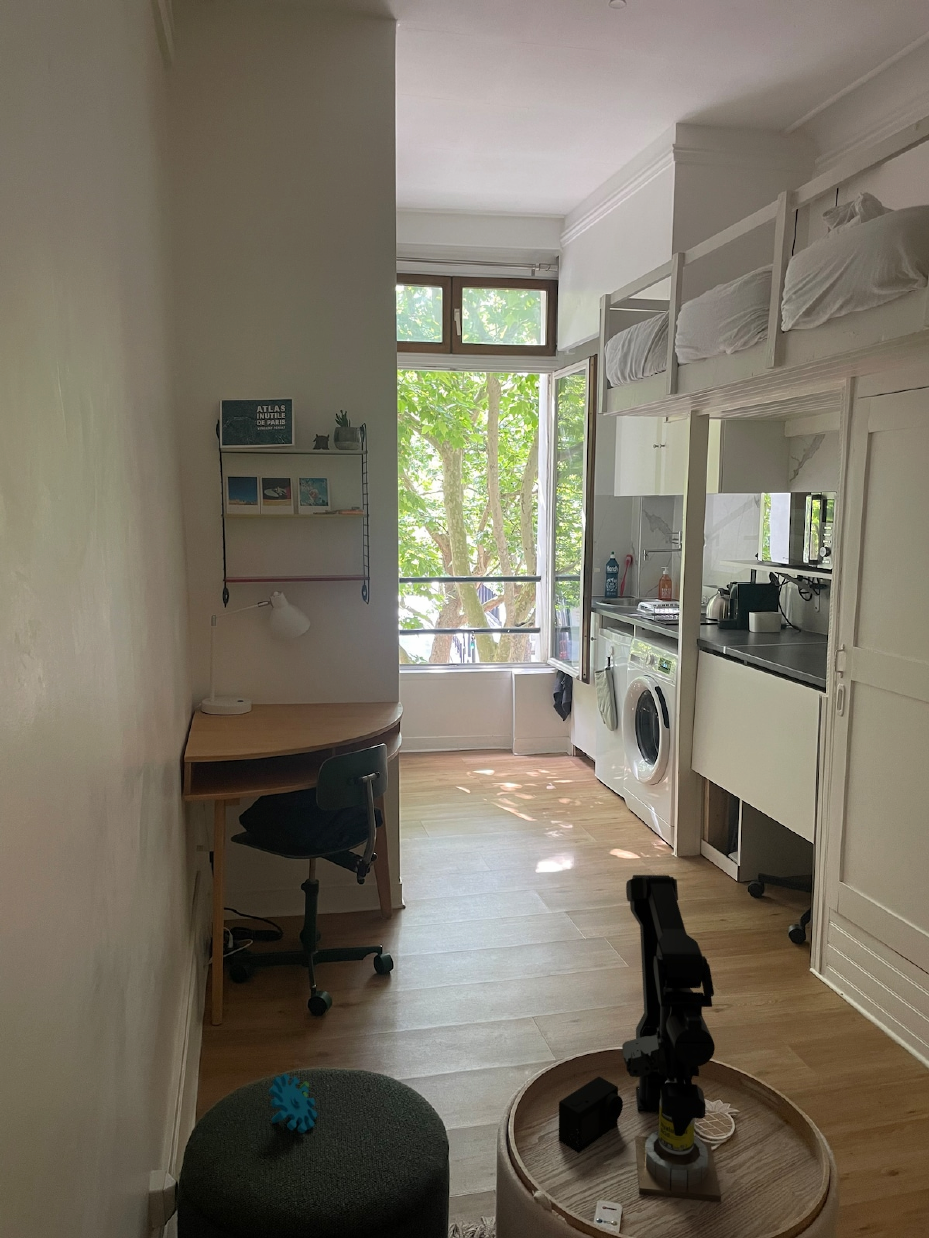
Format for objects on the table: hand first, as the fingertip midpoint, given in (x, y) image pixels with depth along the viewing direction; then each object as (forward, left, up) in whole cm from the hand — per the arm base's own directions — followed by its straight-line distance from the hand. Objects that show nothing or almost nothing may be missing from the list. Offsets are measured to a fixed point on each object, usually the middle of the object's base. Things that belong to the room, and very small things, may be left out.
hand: (676, 1122), depth 141 cm
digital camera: (-7, -13, -8) cm, 17 cm away
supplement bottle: (0, 0, -4) cm, 4 cm away
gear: (-3, -63, -8) cm, 64 cm away
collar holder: (0, 0, -8) cm, 8 cm away
